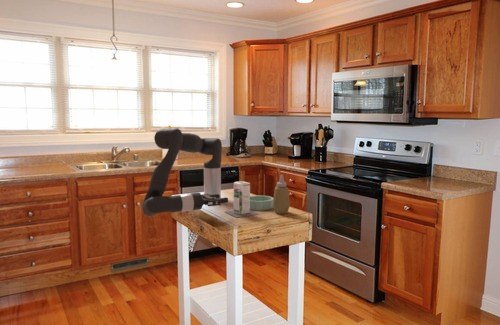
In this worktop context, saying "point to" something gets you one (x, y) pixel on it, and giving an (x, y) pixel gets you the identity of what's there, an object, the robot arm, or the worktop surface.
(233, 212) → the mat
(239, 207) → the syrup box
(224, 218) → the worktop surface
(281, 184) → the squeeze bottle
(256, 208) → the bowl
